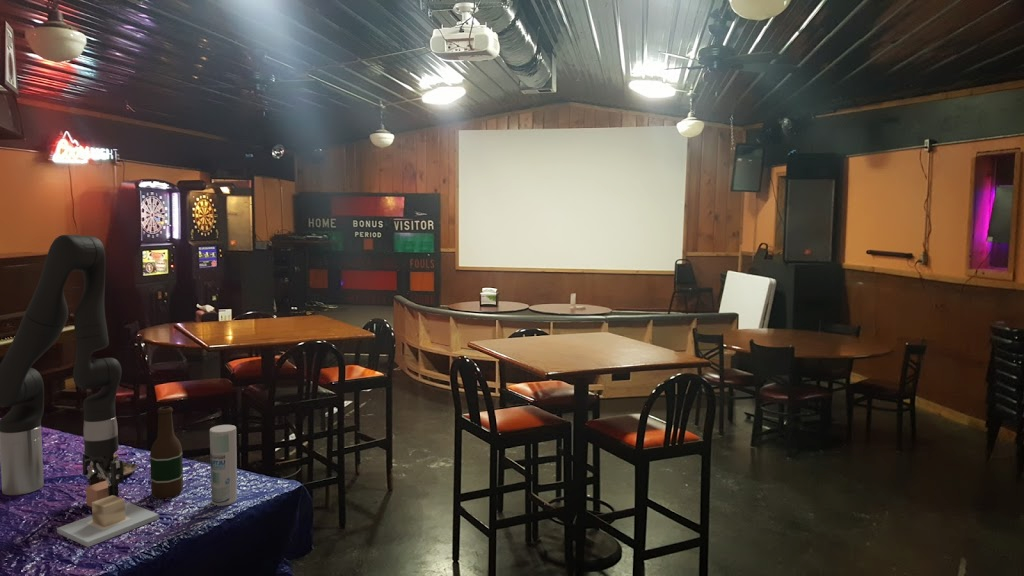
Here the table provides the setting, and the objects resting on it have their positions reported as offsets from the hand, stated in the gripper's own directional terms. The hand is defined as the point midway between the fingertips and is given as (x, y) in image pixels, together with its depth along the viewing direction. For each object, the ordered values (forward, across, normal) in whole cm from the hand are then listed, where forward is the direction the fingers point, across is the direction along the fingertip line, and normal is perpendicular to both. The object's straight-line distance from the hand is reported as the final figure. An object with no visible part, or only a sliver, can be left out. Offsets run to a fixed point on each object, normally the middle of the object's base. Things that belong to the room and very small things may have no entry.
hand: (104, 495), depth 173 cm
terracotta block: (+2, 0, 0) cm, 2 cm away
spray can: (+3, -25, -17) cm, 30 cm away
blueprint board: (+2, -14, +7) cm, 15 cm away
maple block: (+1, -14, +7) cm, 15 cm away
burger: (+3, +17, -13) cm, 21 cm away
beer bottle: (+3, -8, -12) cm, 15 cm away
